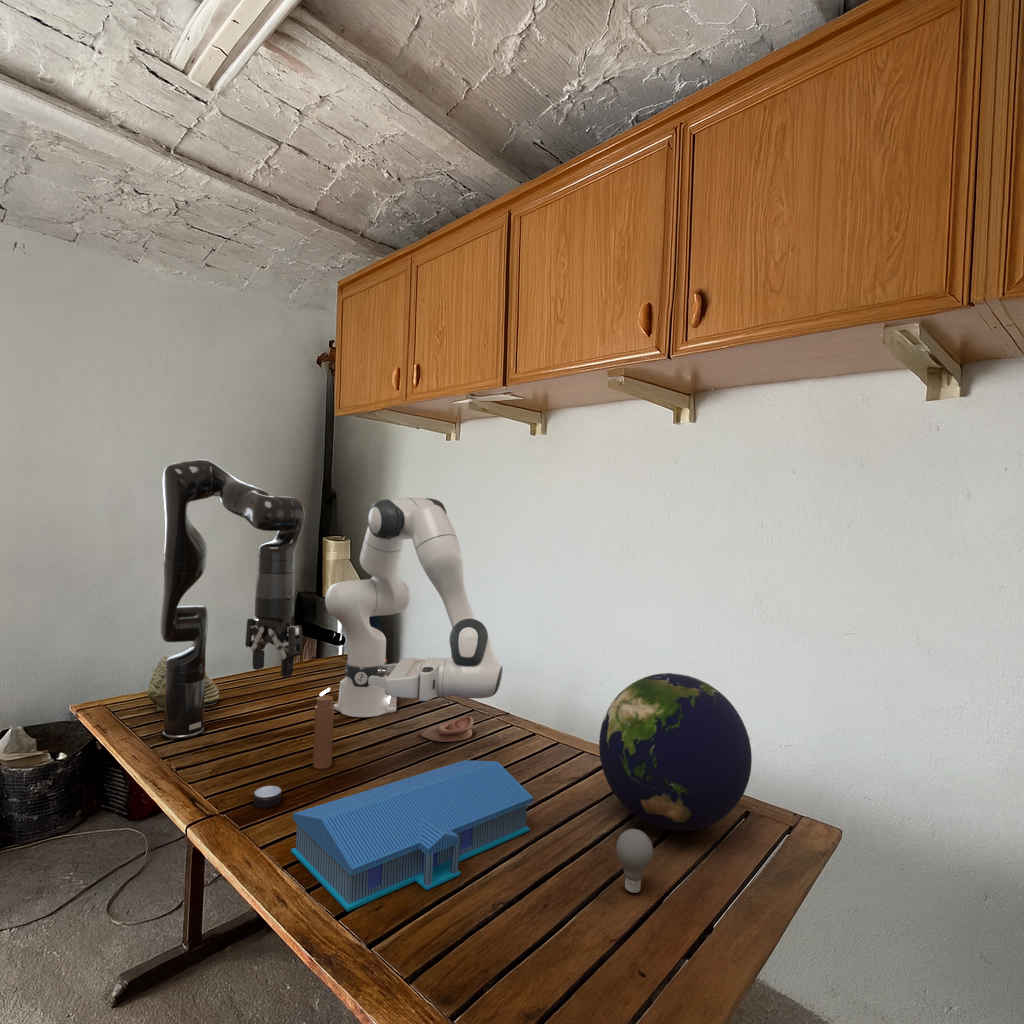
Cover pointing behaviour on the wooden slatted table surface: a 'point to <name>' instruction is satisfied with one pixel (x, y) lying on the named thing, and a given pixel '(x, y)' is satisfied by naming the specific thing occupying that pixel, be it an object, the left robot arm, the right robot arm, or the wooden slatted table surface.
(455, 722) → the anatomical model
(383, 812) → the model building
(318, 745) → the brown cylinder
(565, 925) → the wooden slatted table surface
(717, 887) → the wooden slatted table surface
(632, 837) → the light bulb
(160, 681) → the fossil
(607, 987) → the wooden slatted table surface
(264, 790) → the lid
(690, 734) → the globe
